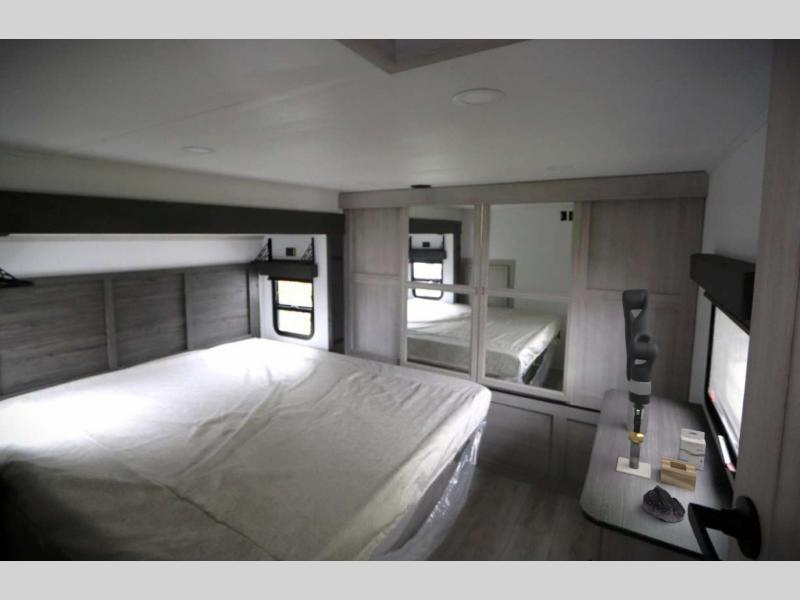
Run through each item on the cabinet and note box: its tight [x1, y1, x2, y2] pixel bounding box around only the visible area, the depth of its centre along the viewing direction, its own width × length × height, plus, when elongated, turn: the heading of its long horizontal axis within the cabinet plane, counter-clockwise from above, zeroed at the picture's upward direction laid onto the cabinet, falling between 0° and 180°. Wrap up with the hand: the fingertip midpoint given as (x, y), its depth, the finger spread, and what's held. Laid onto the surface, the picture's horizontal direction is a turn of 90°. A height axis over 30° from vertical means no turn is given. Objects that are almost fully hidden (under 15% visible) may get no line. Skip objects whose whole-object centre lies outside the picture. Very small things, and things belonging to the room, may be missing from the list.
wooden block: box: [659, 456, 697, 493], centre depth 163 cm, size 11×11×6 cm
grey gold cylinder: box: [627, 430, 645, 469], centre depth 172 cm, size 6×6×15 cm
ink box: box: [677, 427, 707, 471], centre depth 173 cm, size 9×5×15 cm, turn 59°
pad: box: [615, 456, 652, 480], centre depth 173 cm, size 12×12×1 cm
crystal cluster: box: [642, 484, 686, 523], centre depth 145 cm, size 13×14×10 cm
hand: (637, 428), depth 170 cm, fingers open, 8 cm apart
